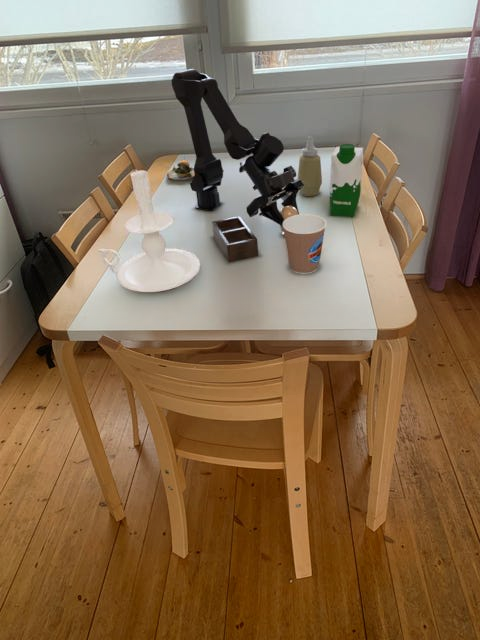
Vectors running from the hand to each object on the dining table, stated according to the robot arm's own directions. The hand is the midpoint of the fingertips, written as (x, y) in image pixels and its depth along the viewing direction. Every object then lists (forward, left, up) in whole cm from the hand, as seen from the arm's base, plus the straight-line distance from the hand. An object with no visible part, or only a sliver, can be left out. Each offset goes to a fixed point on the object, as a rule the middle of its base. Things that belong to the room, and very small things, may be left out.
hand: (292, 223), depth 129 cm
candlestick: (-24, -34, -4) cm, 41 cm away
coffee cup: (+9, -15, -4) cm, 18 cm away
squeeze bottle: (-7, +30, -4) cm, 31 cm away
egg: (-1, 0, -4) cm, 4 cm away
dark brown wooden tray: (-12, -11, -4) cm, 17 cm away
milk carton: (+8, +20, -4) cm, 22 cm away
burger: (-57, +30, -4) cm, 65 cm away
